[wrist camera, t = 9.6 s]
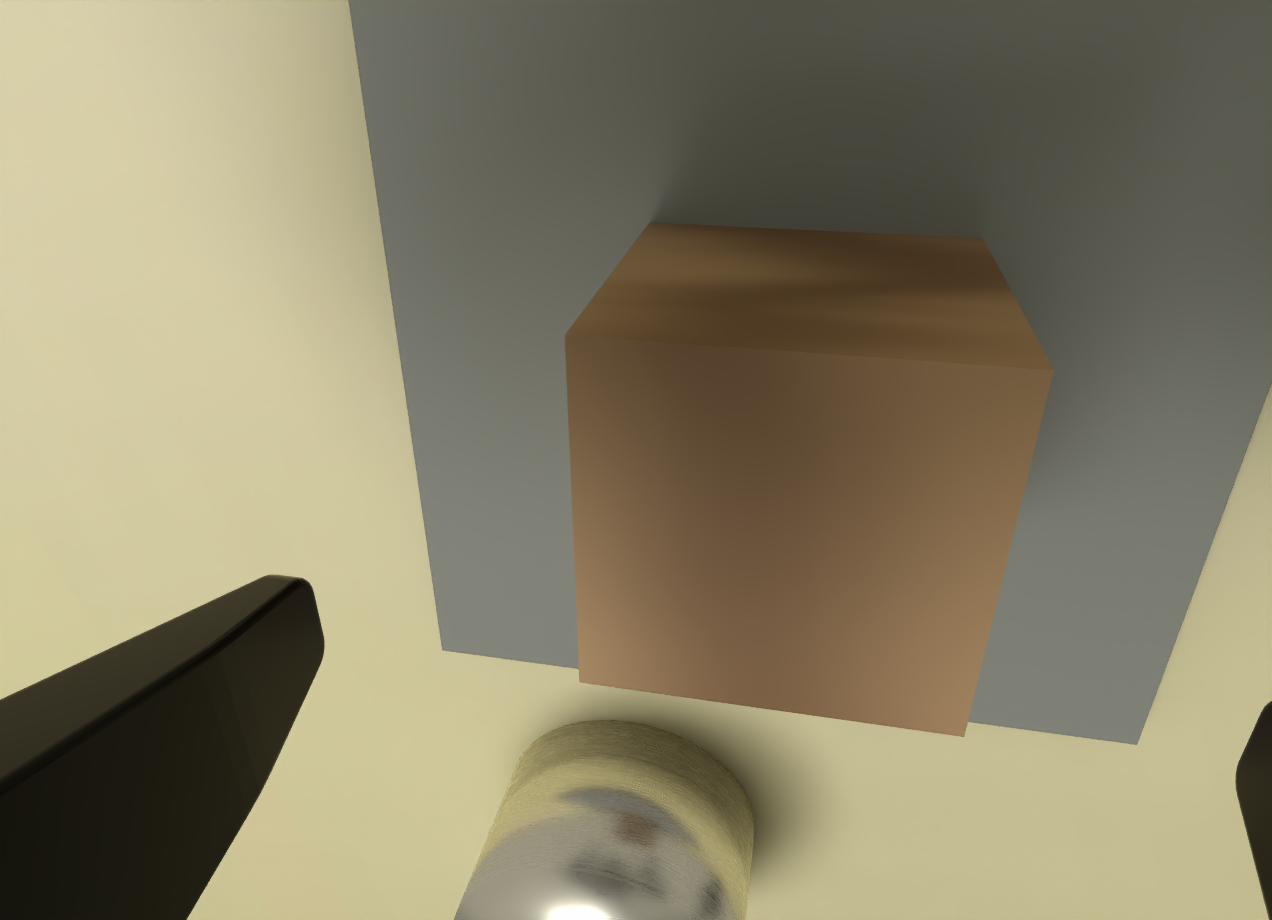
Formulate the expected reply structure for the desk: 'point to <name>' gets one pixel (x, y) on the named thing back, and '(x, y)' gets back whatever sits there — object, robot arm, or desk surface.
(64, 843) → the robot arm
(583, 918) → the tin
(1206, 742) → the desk surface
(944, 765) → the desk surface
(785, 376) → the walnut block
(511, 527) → the mat
